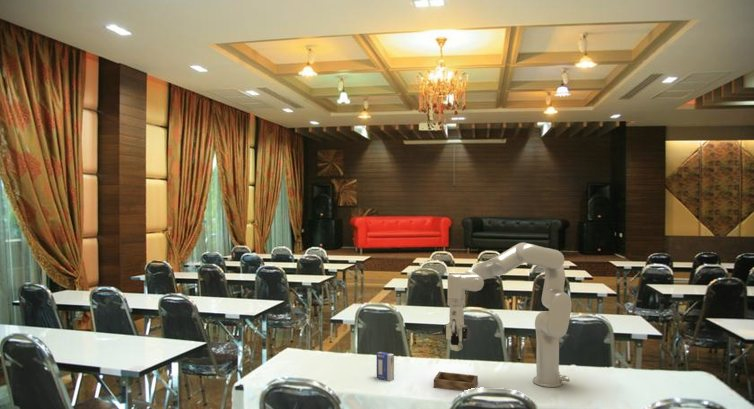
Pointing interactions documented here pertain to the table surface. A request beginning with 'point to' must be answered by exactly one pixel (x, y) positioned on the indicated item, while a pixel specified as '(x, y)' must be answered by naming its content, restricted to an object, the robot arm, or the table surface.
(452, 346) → the pneumatic valve
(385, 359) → the walkman
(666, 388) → the table surface
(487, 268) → the robot arm
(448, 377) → the wooden tray
